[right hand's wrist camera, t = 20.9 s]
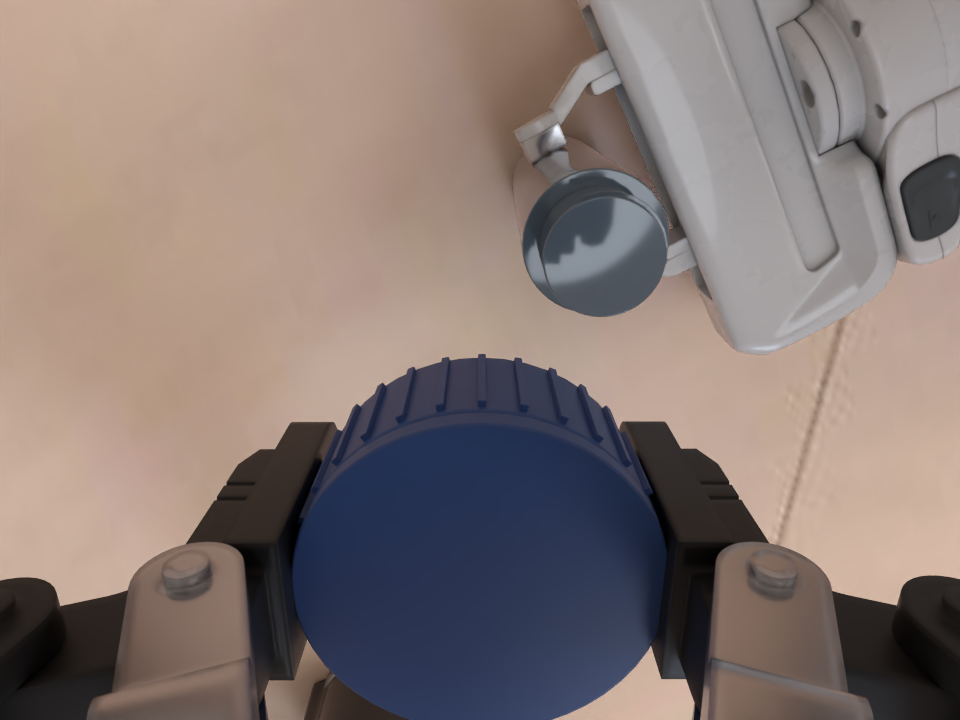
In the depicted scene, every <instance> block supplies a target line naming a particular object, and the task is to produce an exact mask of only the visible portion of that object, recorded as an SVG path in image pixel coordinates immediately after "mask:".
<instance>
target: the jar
mask: <svg viewBox="0 0 960 720" xmlns="http://www.w3.org/2000/svg"><path fill="white" fill-rule="evenodd" d="M564 137H565V139H566V141H567V145H566V146H564V147H562V148H560V149H558V150H556V151H554V152H550V151H547V152H546V154H545V156H544V157H542V158H541V159H539V160H538V161H536V162H533V163H530V164H529V162H528V160H527V158H526V156H525V154H524V153H523V154H522V156H521V157H520V159H519V161H518V163H517V165H516V167H515V170H514V174H513V182H512V185H513V194H514V201H515V207H516V214H517V220H518V227H519V233H520V240H521V246H522V252H523V258H524V263H525V266H526V269H527V272H528V274H529V276H530V278H531V280H532V281H533V283H534V284H535V286H536V287H537V288H538V289H539V290H540V291H541V293H542V294H544V295H545V296H546V297H547V298H548V299H549V300H551V301H553V302H554V303H556V304H557V305H559V306H562V307H564V308H566V309H569V310H572V311H576V312H578V313H581V314H584V315H588V316H594V317H608V316H614V315H618V314H621V313H624V312H627V311H629V310H631V309H633V308H634V307H636V306H638V305H639V304H640V303H642V302H643V301H644V300H645V299H646V298H647V297H648V296H649V295H650V294H651V293H652V292H653V291H654V289H655V288H656V286H657V285H658V283H659V281H660V279H661V277H662V275H663V272H664V269H665V265H666V264H667V253H668V248H669V247H668V245H669V227H668V222H667V217H666V214H665V211H664V209H663V206H662V205H661V203H660V201H659V199H658V198H657V196H656V195H655V194H654V193H653V191H652V190H651V189H650V188H649V187H648V186H647V185H646V184H644V183H643V182H642V181H640V180H639V179H637V178H636V177H635V176H633V175H632V174H630V173H629V172H627V171H626V170H624V169H623V168H621V167H620V166H618V165H617V164H615V163H614V162H612V161H611V160H609V159H608V158H606V157H605V156H603V155H602V154H600V153H599V152H597V151H596V150H594V149H593V148H591V147H590V146H588V145H587V144H585V143H584V142H582V141H580V140H578V139H576V138H573V137H569V136H564Z"/></svg>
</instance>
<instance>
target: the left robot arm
mask: <svg viewBox="0 0 960 720" xmlns="http://www.w3.org/2000/svg"><path fill="white" fill-rule="evenodd" d="M576 2H577V4H578V6H579V9H580V11H581V13H582V16H583V18H584V21H585V23H586V25H587V28H588V30H589V32H590V35H591V37H592V39H593V42H594V44H595V47H596V49H597V51H598V53H596V54H595V55H593V56H591V57H589V58H588V59H586V60H584V61H582V62H581V63H579V64H577V65H575V66H574V67H573V68H572V70H571V72H570V73H569V75H568V77H567V78H566V80H565V81H564V83H563V85H562V86H561V88H560V89H559V91H558V93H557V94H556V96H555V97H554V99H553V101H552V102H551V104H550V106H549V107H548V108H549V111H547V112H545V113H543V114H542V115H540V116H538V117H536V118H534V119H533V120H531V121H529V122H527V123H525V124H523V125H522V126H520V127H519V128H517V129H516V130H514V131H513V132H514V134H515V136H516V138H517V140H518V142H519V144H520V146H521V148H522V150H523V152H524V154H525V156H526V158H527V160H528V162H529V164H530V163H533V162H536V161H538V160H539V159H541V158H542V157H544V156H545V154H546V152H547V151H550V152H554V151H556V150H558V149H560V148H562V147H564V146H566V145H567V141H566V139H565V137H564V135H563V132H562V130H561V128H560V126H561V125H562V123H563V122H564V120H565V119H566V117H567V115H568V114H569V112H570V111H571V109H572V108H573V106H574V105H575V103H576V102H577V100H578V99H579V97H580V95H581V94H582V92H583V91H584V89H585V91H586V93H587V94H589V95H599V94H601V93H603V92H605V91H607V90H609V89H611V88H613V89H614V92H615V94H616V96H617V99H618V101H619V103H620V106H621V108H622V110H623V113H624V115H625V118H626V120H627V122H628V125H629V127H630V129H631V132H632V134H633V136H634V139H635V141H636V144H637V146H638V148H639V151H640V153H641V155H642V158H643V160H644V163H645V165H646V167H647V170H648V172H649V174H650V177H651V179H652V181H653V184H654V186H655V189H656V191H657V193H658V196H659V198H660V200H661V203H662V205H663V207H664V210H665V212H666V215H667V217H668V219H669V222H670V224H671V226H672V229H671V230H669V245H668V247H669V248H668V253H667V264H666V265H665V269H664V272H663V275H662V276H664V277H673V276H675V275H678V274H680V273H682V272H684V271H686V270H688V269H690V271H691V274H692V276H693V278H694V281H695V283H696V286H697V288H698V290H699V293H700V295H701V297H702V300H703V302H704V304H705V307H706V309H707V312H708V314H709V316H710V319H711V321H712V323H713V326H714V328H715V329H716V331H717V332H718V333H719V335H720V336H721V337H722V338H723V339H724V340H725V341H726V342H727V343H728V344H729V345H730V346H731V347H732V348H733V349H734V350H736V351H738V352H742V353H747V354H754V355H766V354H769V353H772V352H775V351H778V350H780V349H782V348H785V347H787V346H789V345H791V344H793V343H795V342H798V341H800V340H802V339H804V338H806V337H808V336H810V335H812V334H814V333H816V332H818V331H820V330H821V329H823V328H825V327H827V326H829V325H831V324H832V323H834V322H836V321H838V320H840V319H841V318H843V317H845V316H847V315H848V314H850V313H852V312H853V311H855V310H857V309H858V308H860V307H862V306H863V305H865V304H866V303H868V302H869V301H870V300H871V299H873V298H874V297H875V296H876V295H877V294H878V293H880V291H881V290H882V289H883V288H884V287H885V286H886V284H887V283H888V282H889V280H890V278H891V277H892V275H893V272H894V269H895V266H896V262H897V260H898V261H902V262H906V263H911V264H915V265H926V264H929V263H932V262H935V261H937V260H940V259H942V258H944V257H946V256H948V255H949V254H951V253H952V252H954V251H955V250H956V248H957V247H958V246H959V244H960V0H576Z"/></svg>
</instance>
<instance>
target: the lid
mask: <svg viewBox="0 0 960 720" xmlns="http://www.w3.org/2000/svg"><path fill="white" fill-rule="evenodd" d="M652 493H653V492H652V490H651V488H650V485H649V483H648V481H647V478H646V476H645V474H644V471H643V469H642V467H641V464H640V462H639V460H638V457H637V455H636V453H635V450H634V448H633V446H632V443H631V441H630V439H629V437H628V435H627V433H626V431H624V432H622V433H621V432H620V431H619V429H618V428H617V425H616V423H615V420H614V418H613V415H612V413H611V410H610V409H609V408H608V407H607V406H605V407H603V408H602V407H601V406H600V405H599V404H598V403H597V402H596V401H595V400H594V399H592V398H591V397H590V396H589V395H588V392H587V390H586V387H585V386H583V385H582V384H580V385H579V386H578V387H577V386H575V385H574V384H572V383H571V382H569V381H568V380H566V379H564V378H562V377H560V376H558V375H557V373H556V370H555V369H552V368H549V370H548V371H547V370H545V369H541V368H538V367H535V366H532V365H529V364H526V363H522V359H521V358H516V357H515V359H514V361H511V360H506V359H494V358H486V355H485V354H478V358H468V359H457V360H451V361H450V360H449V357H446V358H442V362H440V363H436V364H433V365H430V366H426V367H423V368H420V369H417V370H415V368H414V367H412V368H409V369H408V371H407V374H406V375H404V376H402V377H399V378H397V379H396V380H394V381H393V382H391V383H389V384H388V385H386V386H385V385H384V384H383V383H381V384H380V385H379V386H377V389H376V392H375V394H374V395H373V396H372V397H370V398H369V399H368V400H367V401H366V402H365V403H364V404H363V405H362V406H361V407H360V406H359V405H358V404H356V405H355V406H354V407H353V409H352V411H351V414H350V416H349V419H348V421H347V424H346V426H345V427H344V429H343V430H342V431H340V430H338V429H337V430H336V432H335V434H334V436H333V439H332V441H331V443H330V446H329V448H328V450H327V453H326V455H325V457H324V460H323V462H322V464H321V467H320V469H319V471H318V474H317V476H316V478H315V480H314V483H313V485H312V487H311V490H310V493H309V495H308V497H307V500H306V502H305V504H304V507H303V509H302V511H301V514H300V516H299V519H298V523H299V524H302V525H301V527H300V530H299V533H298V536H297V540H296V543H295V547H294V550H293V558H292V566H291V574H292V582H293V591H294V599H295V606H296V613H297V616H298V619H299V622H300V624H301V627H302V630H303V632H304V634H305V635H306V637H307V639H308V641H309V643H310V645H311V646H312V648H313V650H314V651H315V652H316V654H317V655H318V656H319V658H320V659H321V660H322V662H323V663H324V664H325V665H326V667H327V668H328V669H329V670H330V671H331V672H332V673H333V674H334V675H335V676H336V677H337V678H338V679H339V680H340V681H342V682H343V683H344V684H345V685H347V686H348V687H349V688H350V689H352V690H353V691H354V692H355V693H357V694H358V695H360V696H362V697H363V698H365V699H366V700H368V701H370V702H371V703H373V704H375V705H377V706H379V707H381V708H383V709H385V710H387V711H389V712H391V713H393V714H396V715H399V716H401V717H404V718H407V719H410V720H552V719H555V718H558V717H561V716H564V715H566V714H569V713H571V712H573V711H575V710H577V709H579V708H581V707H583V706H586V705H587V704H589V703H591V702H592V701H594V700H595V699H597V698H599V697H600V696H602V695H604V694H605V693H606V692H608V691H609V690H610V689H611V688H613V687H614V686H615V685H617V684H618V683H619V682H620V681H622V680H623V679H624V678H625V677H626V676H627V675H628V674H629V673H630V672H631V671H632V670H633V669H634V668H635V667H636V665H637V664H638V663H639V661H640V660H641V659H642V657H643V656H644V655H645V654H646V652H647V651H648V649H649V648H650V646H651V644H652V642H653V641H654V639H655V637H656V635H657V631H658V624H659V615H660V607H661V599H662V591H663V583H664V575H665V567H666V559H667V544H666V541H665V537H664V534H663V531H662V528H661V526H660V524H659V519H658V516H657V514H656V512H655V509H654V507H653V505H652V502H651V500H650V497H649V495H650V494H652Z"/></svg>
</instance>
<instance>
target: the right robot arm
mask: <svg viewBox="0 0 960 720" xmlns="http://www.w3.org/2000/svg"><path fill="white" fill-rule="evenodd" d="M336 430H337V428H336V425H335V423H334V422H292V423H290V425H289V426H288V428H287V430H286V432H285V433H284V435H283V437H282V438H281V440H280V442H279V444H278V445H277V447H276V449H260V450H259V451H257V452H256V453H254V454H253V455H251V456H250V457H248V458H247V459H246V460H244V461H243V462H241V463H240V464H238V466H237V467H236V469H235V470H234V472H233V473H232V475H231V476H230V478H229V479H228V481H227V485H226V486H224V487H223V488H222V490H221V491H220V493H219V495H218V496H217V501H214V502H213V504H212V505H211V507H210V508H209V510H208V511H207V513H206V514H205V516H204V517H203V519H202V520H201V522H200V523H199V525H198V526H197V528H196V529H195V531H194V533H193V534H192V536H191V537H190V539H189V540H188V542H187V543H186V545H182V546H178V547H175V548H172V549H170V550H167V551H165V552H163V553H161V554H159V555H157V556H155V557H154V558H152V559H151V560H149V561H148V562H146V563H145V564H144V565H143V566H142V567H141V568H140V569H139V570H138V571H137V572H136V573H135V574H134V576H133V578H132V579H131V581H130V584H129V588H128V590H127V591H124V592H121V593H118V594H114V595H111V596H107V597H102V598H97V599H92V600H88V601H83V602H78V603H73V604H69V605H64V606H60V604H59V600H58V597H57V593H56V591H55V588H54V587H53V586H52V585H51V584H50V583H48V582H47V581H45V580H41V579H38V578H13V579H6V580H2V581H0V720H268V715H267V708H266V702H265V695H264V692H265V690H266V687H267V684H268V681H269V680H294V678H295V675H296V672H297V669H298V666H299V663H300V660H301V656H302V653H303V650H304V647H305V644H306V641H307V637H306V635H305V634H304V632H303V630H302V627H301V624H300V622H299V619H298V616H297V613H296V606H295V599H294V591H293V582H292V574H291V566H292V558H293V550H294V547H295V543H296V540H297V536H298V533H299V530H300V527H301V525H302V524H299V523H298V519H299V516H300V514H301V511H302V509H303V507H304V504H305V502H306V500H307V497H308V495H309V493H310V490H311V487H312V485H313V483H314V480H315V478H316V476H317V474H318V471H319V469H320V467H321V464H322V462H323V460H324V457H325V455H326V453H327V450H328V448H329V446H330V443H331V441H332V439H333V436H334V434H335V432H336ZM619 431H620V432H621V433H622V432H624V431H626V433H627V435H628V437H629V439H630V441H631V443H632V446H633V448H634V450H635V453H636V455H637V457H638V460H639V462H640V464H641V467H642V469H643V471H644V474H645V476H646V478H647V481H648V483H649V485H650V488H651V490H652V492H653V493H652V494H650V495H649V497H650V500H651V502H652V505H653V507H654V509H655V512H656V514H657V516H658V519H659V524H660V526H661V528H662V531H663V534H664V537H665V541H666V544H667V559H666V567H665V575H664V583H663V591H662V599H661V607H660V615H659V624H658V631H657V635H656V637H655V639H654V641H653V642H652V644H651V647H652V650H653V653H654V657H655V660H656V663H657V666H658V669H659V673H660V676H661V679H686V680H687V683H688V686H689V688H690V691H691V694H692V697H693V700H694V708H693V715H692V720H960V579H956V578H951V577H944V576H920V577H917V578H913V579H911V580H909V581H907V582H906V583H905V584H904V585H903V587H902V590H901V593H900V597H899V600H898V604H897V606H896V605H891V604H887V603H882V602H877V601H872V600H868V599H863V598H858V597H854V596H849V595H845V594H841V593H837V592H834V591H832V588H831V584H830V581H829V579H828V578H827V576H826V574H825V573H824V572H823V571H822V570H821V569H820V568H819V567H818V566H817V565H816V564H815V563H814V562H812V561H811V560H809V559H808V558H806V557H805V556H803V555H801V554H799V553H797V552H795V551H793V550H790V549H788V548H785V547H782V546H778V545H774V544H770V543H769V542H768V540H767V539H766V537H765V536H764V534H763V533H762V531H761V530H760V528H759V527H758V525H757V523H756V522H755V520H754V519H753V517H752V516H751V514H750V513H749V511H748V510H747V508H746V507H745V505H744V503H743V502H742V500H739V496H738V494H737V493H736V491H735V490H734V488H733V486H732V485H729V480H728V479H727V477H726V476H725V474H724V473H723V471H722V470H721V468H720V466H719V465H718V464H717V463H716V462H714V461H713V460H712V459H710V458H709V457H707V456H706V455H704V454H703V453H701V452H700V451H699V450H697V449H681V448H680V446H679V445H678V443H677V441H676V439H675V438H674V436H673V434H672V432H671V431H670V429H669V427H668V425H667V424H666V423H665V422H622V423H621V426H620V430H619ZM304 720H410V719H407V718H404V717H401V716H399V715H396V714H393V713H391V712H389V711H387V710H385V709H383V708H381V707H379V706H377V705H375V704H373V703H371V702H370V701H368V700H366V699H365V698H363V697H362V696H360V695H358V694H357V693H355V692H354V691H353V690H352V689H350V688H349V687H348V686H347V685H345V684H344V683H343V682H342V681H340V680H339V679H338V678H337V677H336V676H335V675H334V674H333V673H332V672H331V673H330V674H329V676H328V677H327V679H326V680H324V681H322V682H318V683H315V684H314V685H313V689H312V692H311V696H310V699H309V703H308V706H307V709H306V713H305V716H304Z"/></svg>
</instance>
